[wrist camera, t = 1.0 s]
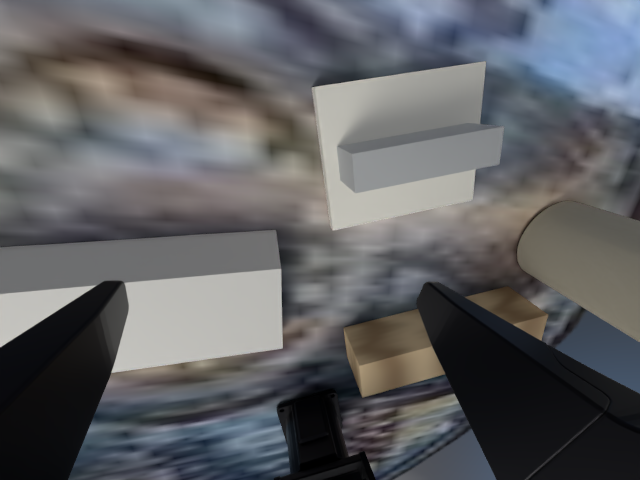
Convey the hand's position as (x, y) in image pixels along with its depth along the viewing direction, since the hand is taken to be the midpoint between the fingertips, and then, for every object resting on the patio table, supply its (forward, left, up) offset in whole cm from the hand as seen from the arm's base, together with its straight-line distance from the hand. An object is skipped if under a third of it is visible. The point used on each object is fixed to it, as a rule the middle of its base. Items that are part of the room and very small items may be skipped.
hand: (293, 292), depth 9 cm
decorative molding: (-6, +18, -15) cm, 24 cm away
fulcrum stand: (+1, -10, -14) cm, 17 cm away
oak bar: (-17, -13, -14) cm, 26 cm away
